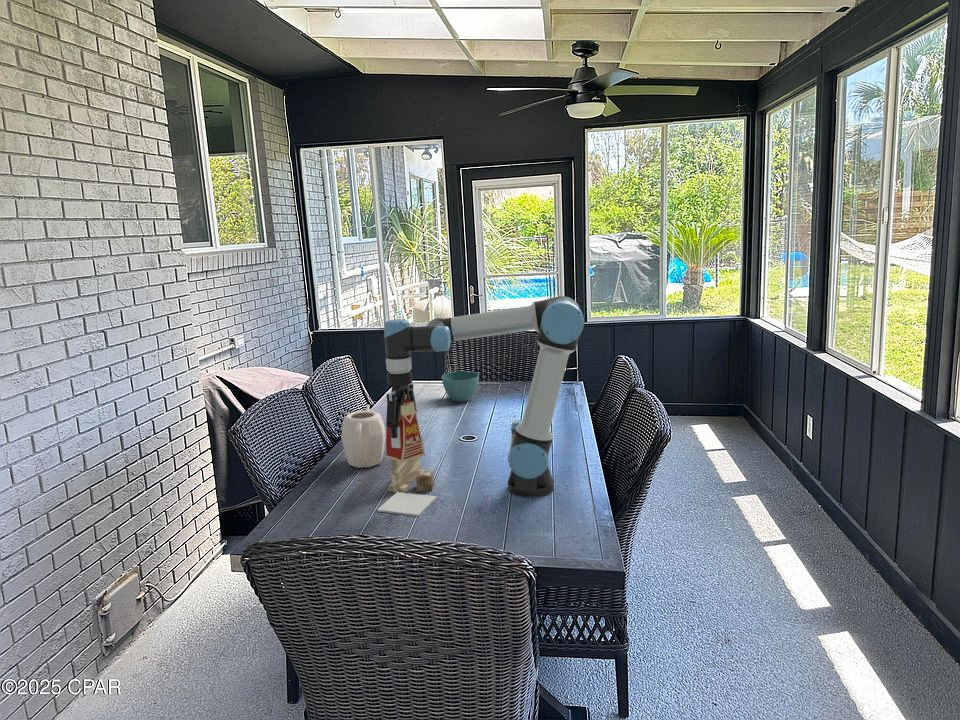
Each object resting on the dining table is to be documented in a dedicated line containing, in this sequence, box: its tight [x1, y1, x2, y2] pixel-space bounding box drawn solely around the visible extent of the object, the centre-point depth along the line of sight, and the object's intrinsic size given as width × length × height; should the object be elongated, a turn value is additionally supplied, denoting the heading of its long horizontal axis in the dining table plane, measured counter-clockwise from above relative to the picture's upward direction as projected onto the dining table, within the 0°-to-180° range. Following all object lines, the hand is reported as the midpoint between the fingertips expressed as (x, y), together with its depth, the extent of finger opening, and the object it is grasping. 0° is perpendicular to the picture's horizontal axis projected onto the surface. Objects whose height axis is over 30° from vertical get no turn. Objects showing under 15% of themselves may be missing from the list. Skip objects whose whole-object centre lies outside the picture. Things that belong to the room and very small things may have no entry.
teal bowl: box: [441, 371, 480, 403], centre depth 330 cm, size 18×18×12 cm
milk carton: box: [385, 395, 426, 463], centre depth 205 cm, size 9×9×20 cm
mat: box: [376, 492, 438, 517], centre depth 210 cm, size 14×14×1 cm
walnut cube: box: [415, 470, 435, 492], centre depth 223 cm, size 5×5×5 cm
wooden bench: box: [387, 457, 427, 493], centre depth 227 cm, size 6×18×16 cm, turn 161°
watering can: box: [340, 404, 386, 469], centre depth 247 cm, size 16×27×19 cm, turn 1°
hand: (403, 442), depth 206 cm, fingers closed on milk carton, 9 cm apart
